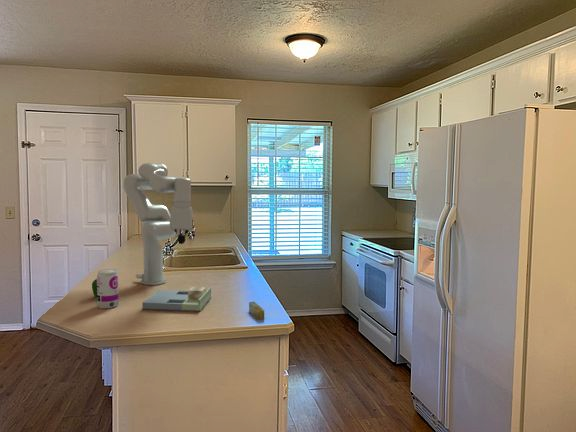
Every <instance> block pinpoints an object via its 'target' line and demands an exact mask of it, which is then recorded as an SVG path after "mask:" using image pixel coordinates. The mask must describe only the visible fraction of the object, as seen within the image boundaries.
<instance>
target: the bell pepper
mask: <svg viewBox="0 0 576 432" xmlns="http://www.w3.org/2000/svg"><path fill="white" fill-rule="evenodd" d="M91 289H92V294H93V296H94V298H96V297H97V278H96V279H94V280H93V281H92V283H91Z"/></svg>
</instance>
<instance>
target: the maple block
mask: <svg viewBox="0 0 576 432" xmlns="http://www.w3.org/2000/svg"><path fill="white" fill-rule="evenodd" d="M187 291H188V300H199V298H200V297H201V296H202V295H203V294H204V293H205V292H206V291H207V290H206V286H204V287H202V286H201V287H200V286H191V287H190V288H189V289H188V290H187Z"/></svg>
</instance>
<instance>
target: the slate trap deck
mask: <svg viewBox="0 0 576 432" xmlns="http://www.w3.org/2000/svg"><path fill="white" fill-rule="evenodd" d="M211 299H212V287H208V289H207V290H206V292H205V293H204V294H203V295H202V296H201V297H200V298H199V300H188V290H171V289H170V290H169V289H166V290H165V289H158V290H157V291H156V292H155V293H153V294H152V295H151V296H149V297H148V298H147V299H145V300H144V301H143V302H142V310H144V311H165V312H167V311H170V312H190V313H191V312H193V313H194V312H195V313H196V312H197V313H200V312H202V310H203V309H204V308H205V307H206V305H207V304H208V303H209V302H210V300H211Z"/></svg>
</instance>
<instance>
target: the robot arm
mask: <svg viewBox="0 0 576 432" xmlns="http://www.w3.org/2000/svg"><path fill="white" fill-rule="evenodd" d="M137 171H138V173H131V174H128V175H126V176H125V177H124V178H123V188H124V189H123V190H124V192H125V195H126V196H127V197H128V199H129V200H130V202H131V204H132V206H133V208H134V211H135V214H136V215H137V218H138V220H139V221H140V223H143V225H142V226H141V228H140V229H141V230H140V231H141V232H140V233H141V238H142V246H143V249H142V250H143V273H137V274H136V275H135V276H136V277H135V278H136V279H141V280H140V284H141V285H145V286H157V285H162V284H165V283H166V282H167V279H166V278H164V253H163V252H164V249H163V248H164V247H163V246H162V243H160V241H161V240H167V239H168V240H169V239H172V238H174V237H175V236H176V235H177V242H178V244H179V245H183V244H185V243H186V235H187V234H189V233H192V232H193V231H194V212H193V208H192V206H191V203H192V202H191V200H192V199H191V197H192V194H191V193H192V180H191V179H190V178H187V177H182V176H168V175H169V174H168V168H167V166H166V165H165V164H163V163H158V162H157V163H156V162H155V163H154V162H151V163H150V162H146V163H142V164H141V165H140V166H139V167H138V169H137ZM143 190H144V191H146V190H147V191H148V190H152V191H153V190H154V191H156V192H158V193H161V194H162V193H164V194H165V193H172V194H174V195H173V201H170V204H171V205H173V206H172V207H171V210H169V209H168V208H167V206H165V205H163V204H152V203H151V201H150V199H149V197H148V195H146V194H145V193H144V192H142V191H143ZM170 211H171V212H170ZM159 240H160V241H159Z"/></svg>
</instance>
